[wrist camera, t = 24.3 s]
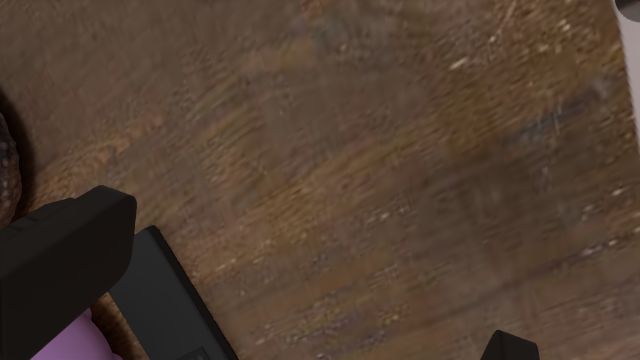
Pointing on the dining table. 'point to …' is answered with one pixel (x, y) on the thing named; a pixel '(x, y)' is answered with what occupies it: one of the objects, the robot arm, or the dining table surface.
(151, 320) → the phone
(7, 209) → the sea urchin shell
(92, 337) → the teapot
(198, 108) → the dining table surface
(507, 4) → the dining table surface
